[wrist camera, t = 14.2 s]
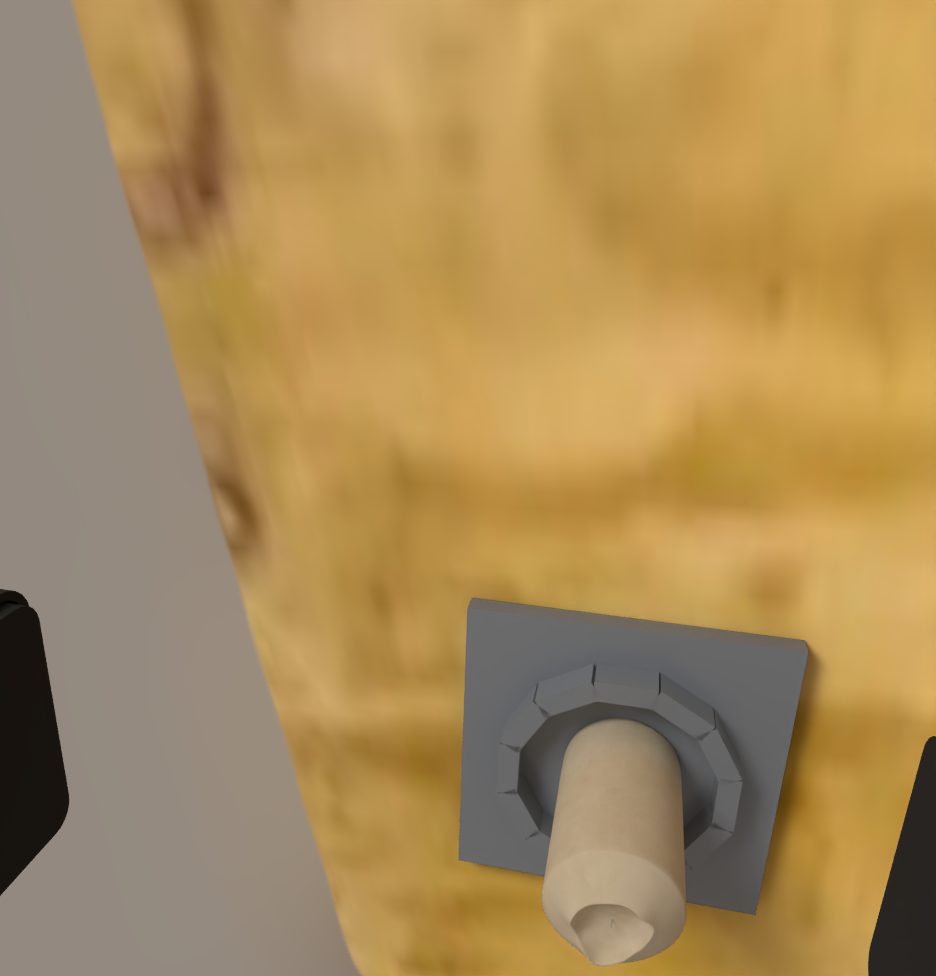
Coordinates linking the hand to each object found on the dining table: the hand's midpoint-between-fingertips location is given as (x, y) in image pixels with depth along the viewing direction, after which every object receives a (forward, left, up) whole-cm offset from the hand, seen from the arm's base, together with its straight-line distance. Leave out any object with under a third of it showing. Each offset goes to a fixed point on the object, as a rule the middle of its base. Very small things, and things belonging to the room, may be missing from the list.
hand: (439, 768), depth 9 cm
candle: (-3, +21, -28) cm, 35 cm away
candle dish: (-3, +21, -28) cm, 35 cm away
